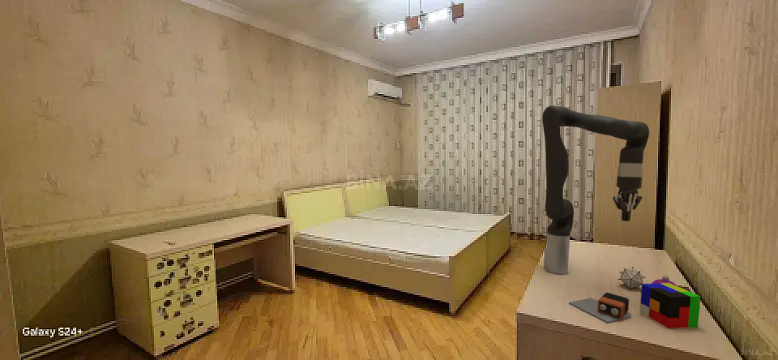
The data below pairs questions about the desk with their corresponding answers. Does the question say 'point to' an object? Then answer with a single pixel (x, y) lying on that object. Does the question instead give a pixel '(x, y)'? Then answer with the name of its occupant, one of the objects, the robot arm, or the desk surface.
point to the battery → (613, 305)
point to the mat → (595, 310)
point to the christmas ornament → (663, 281)
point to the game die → (631, 278)
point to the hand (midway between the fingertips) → (625, 220)
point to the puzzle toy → (670, 305)
